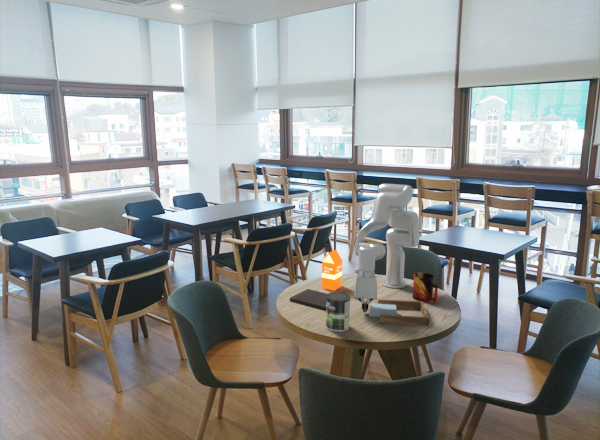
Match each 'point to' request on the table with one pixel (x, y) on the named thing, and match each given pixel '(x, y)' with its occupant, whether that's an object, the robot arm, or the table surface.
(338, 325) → the coffee can
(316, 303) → the hardcover book
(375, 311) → the tile
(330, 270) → the orange juice
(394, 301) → the frame
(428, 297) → the mug
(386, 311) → the tile
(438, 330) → the table surface
